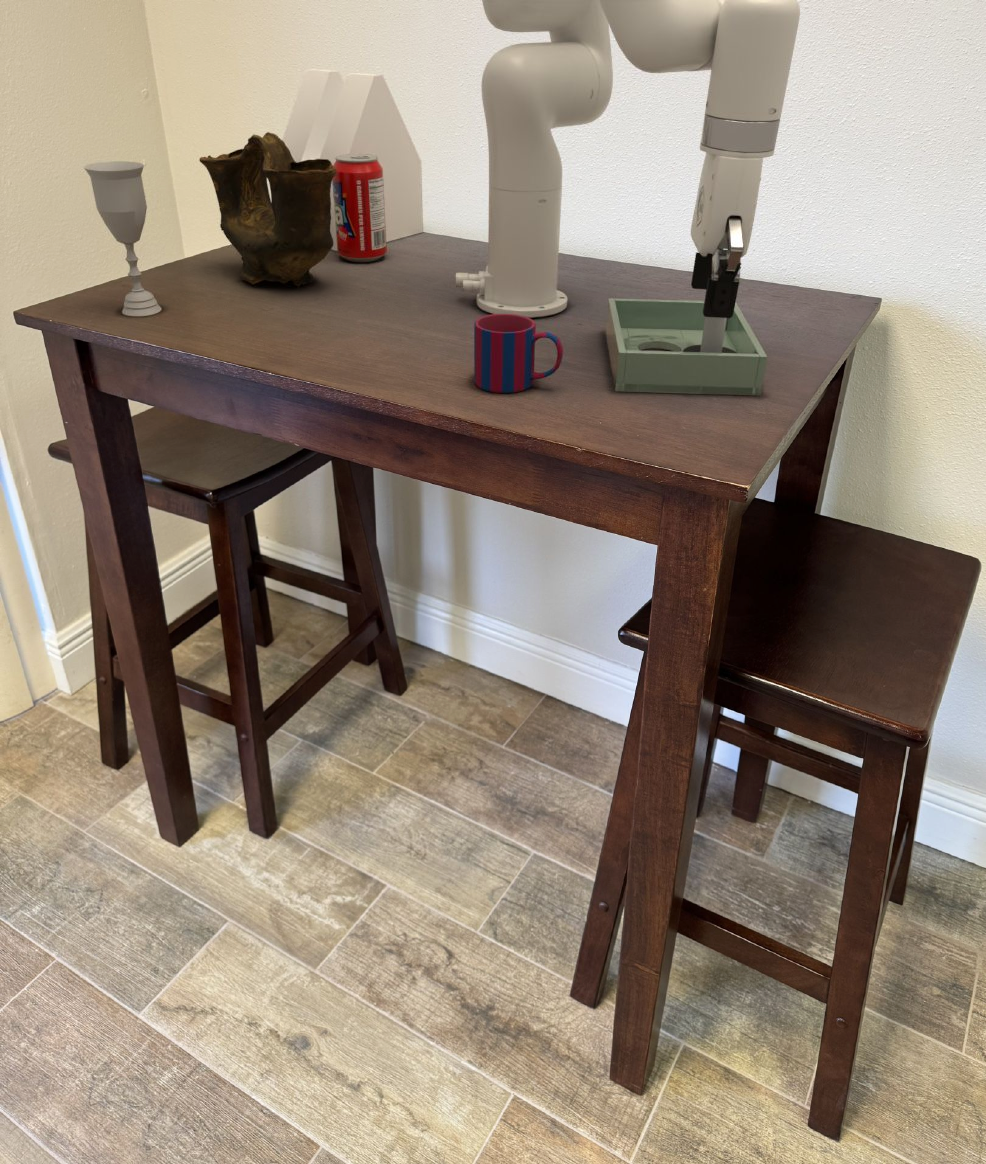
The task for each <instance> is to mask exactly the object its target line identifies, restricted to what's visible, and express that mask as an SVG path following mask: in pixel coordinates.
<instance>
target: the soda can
mask: <svg viewBox="0 0 986 1164" xmlns="http://www.w3.org/2000/svg"><path fill="white" fill-rule="evenodd" d="M335 160H336V161H335V163H334V165H333V166H334V169H336V171H337V173H336V175H335V176H334V177H333V179H332V186H333V200H334V213H335V227H336V240H337V251H336V252H337V254H338V256H339V257H341V258H343V259H344V260H346V261H348V262H352V263H371V262H376V261H378V260H380V259H381V258H383V257H384V256H386V255H387V250H388V249H387V248H388V246H387V245H388V243H387V242H386V223H385V201H384V179H383V168H382V166H381V165H380V163H379V162H378V157H377V156H375V155H370V154H343V155H338V156H336V157H335Z"/></svg>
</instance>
